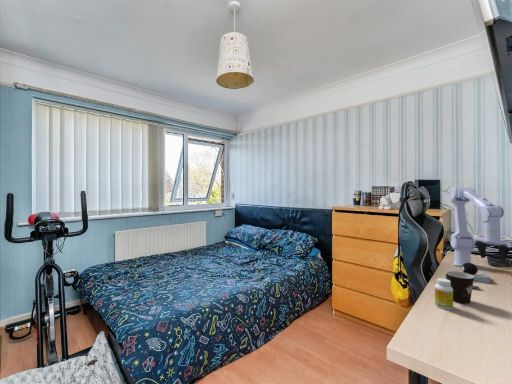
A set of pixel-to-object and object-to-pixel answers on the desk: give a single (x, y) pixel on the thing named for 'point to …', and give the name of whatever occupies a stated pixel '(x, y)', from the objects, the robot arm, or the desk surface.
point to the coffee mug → (460, 286)
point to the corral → (480, 277)
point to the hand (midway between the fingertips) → (492, 259)
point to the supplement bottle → (444, 294)
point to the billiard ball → (469, 268)
